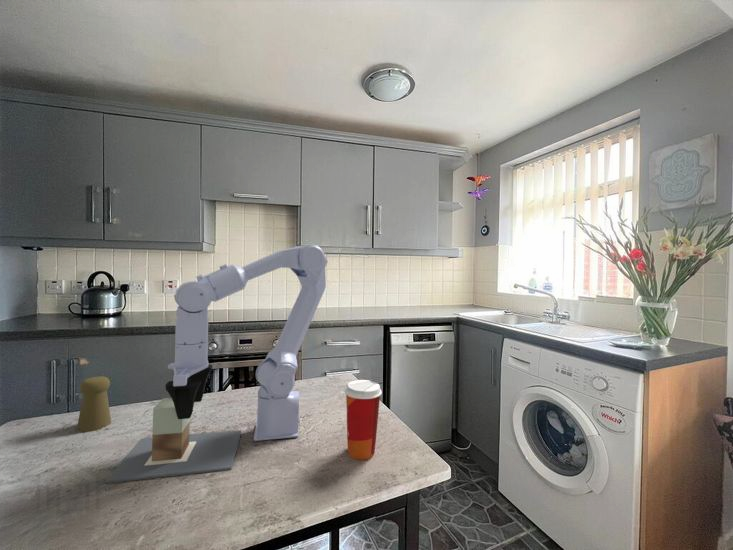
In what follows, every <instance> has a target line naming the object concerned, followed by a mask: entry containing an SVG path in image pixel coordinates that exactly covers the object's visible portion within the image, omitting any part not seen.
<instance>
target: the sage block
mask: <svg viewBox="0 0 733 550" xmlns="http://www.w3.org/2000/svg"><path fill="white" fill-rule="evenodd" d="M189 421H190V422H191V417H190V418H189V419H178V417H177V414H176V410H175V406H174V403H173V400H172V398H171V397H163V398H162V399H161V400H160V401H159V402H158V403H157V404H156V405H155V406H154V407H153V408H152V435H159V434H172V433H182V432H183V430H184V429H185V427H186V426H187V424H188V423H189Z"/></svg>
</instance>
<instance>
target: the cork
mask: <svg viewBox="0 0 733 550" xmlns="http://www.w3.org/2000/svg"><path fill="white" fill-rule="evenodd" d="M110 385H111V381H110V379H109V378H108V377H106V376H101V375H100V376H94V377H93V376H92V377H89V378H88V377H87V378H86V379H85V380H83V381H82V382H81V384H80V387H79V390H80V393H81V394H82V399H81V405H80V410H79V414H78V415H79V416H78V419H77V420H78V421H77V426H76V431H77V430H78V431H77V432H80V433H88V432H89V433H90V432H95V431H99V430H102V429H104V428H106V427H107V425H108V426H109V425H110V424H111V423H112V418H111V411H110V404H109V398H108V392H107V391H108V390H109V388H110ZM103 427H104V428H103ZM101 428H102V429H101ZM98 429H99V430H98Z"/></svg>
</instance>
